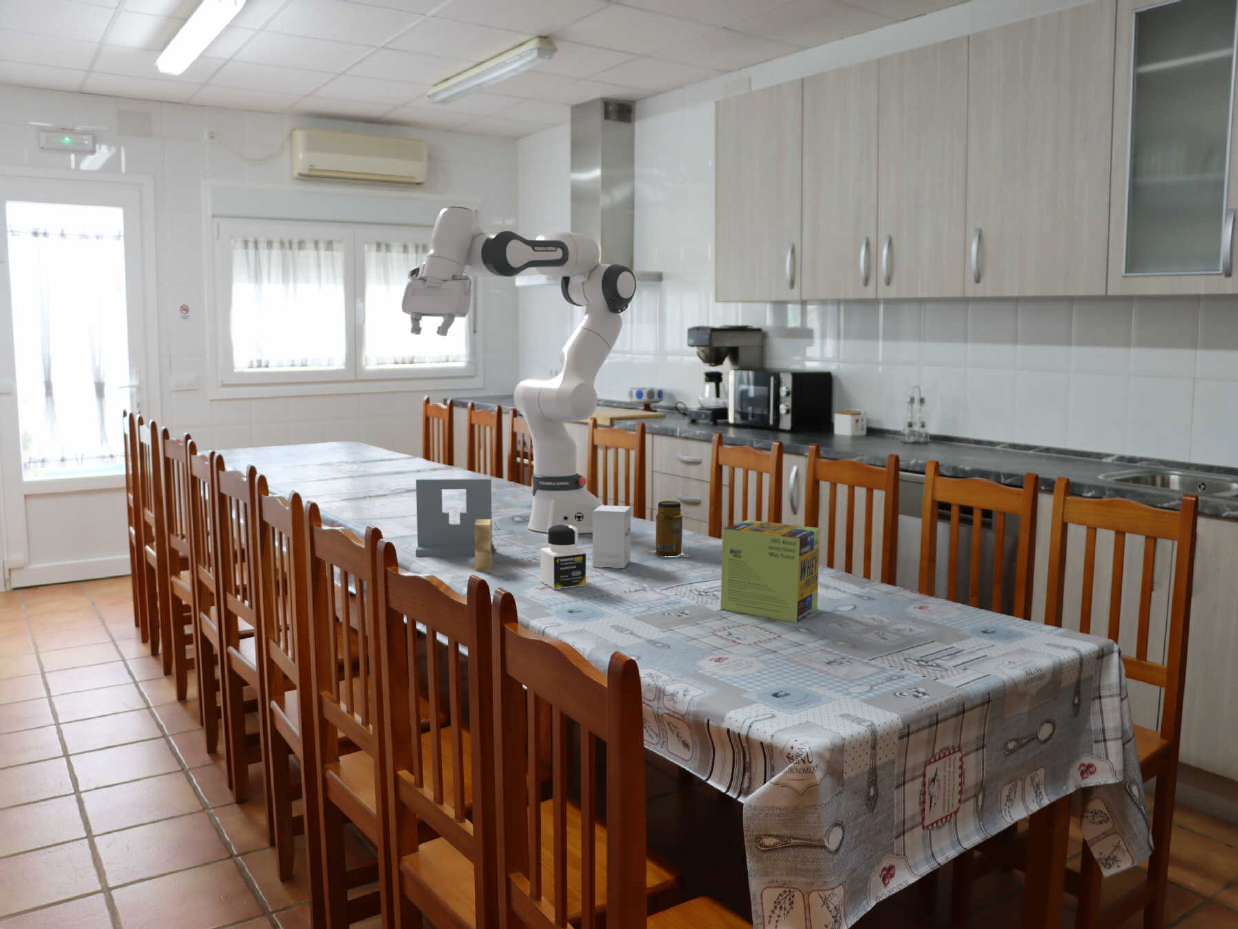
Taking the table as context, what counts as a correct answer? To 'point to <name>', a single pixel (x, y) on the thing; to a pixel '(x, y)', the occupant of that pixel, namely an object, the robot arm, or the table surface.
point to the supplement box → (611, 536)
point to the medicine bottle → (563, 558)
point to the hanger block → (483, 545)
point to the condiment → (668, 530)
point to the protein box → (770, 569)
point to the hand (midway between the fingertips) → (428, 334)
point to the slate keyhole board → (434, 523)
